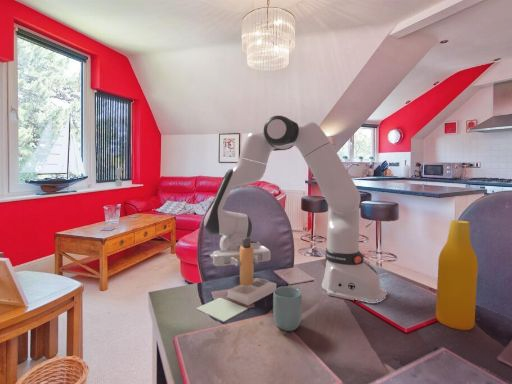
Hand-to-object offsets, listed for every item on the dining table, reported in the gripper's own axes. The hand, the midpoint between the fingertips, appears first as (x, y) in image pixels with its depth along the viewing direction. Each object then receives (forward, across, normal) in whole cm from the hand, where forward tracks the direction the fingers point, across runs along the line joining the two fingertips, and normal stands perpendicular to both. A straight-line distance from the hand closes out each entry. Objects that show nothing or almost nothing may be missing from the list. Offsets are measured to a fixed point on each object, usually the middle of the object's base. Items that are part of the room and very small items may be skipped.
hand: (247, 262), depth 96 cm
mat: (+5, -10, +13) cm, 17 cm away
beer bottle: (+30, +53, +14) cm, 62 cm away
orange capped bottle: (-1, 0, +7) cm, 7 cm away
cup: (+19, +6, +13) cm, 24 cm away
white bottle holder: (-3, +3, +13) cm, 13 cm away
